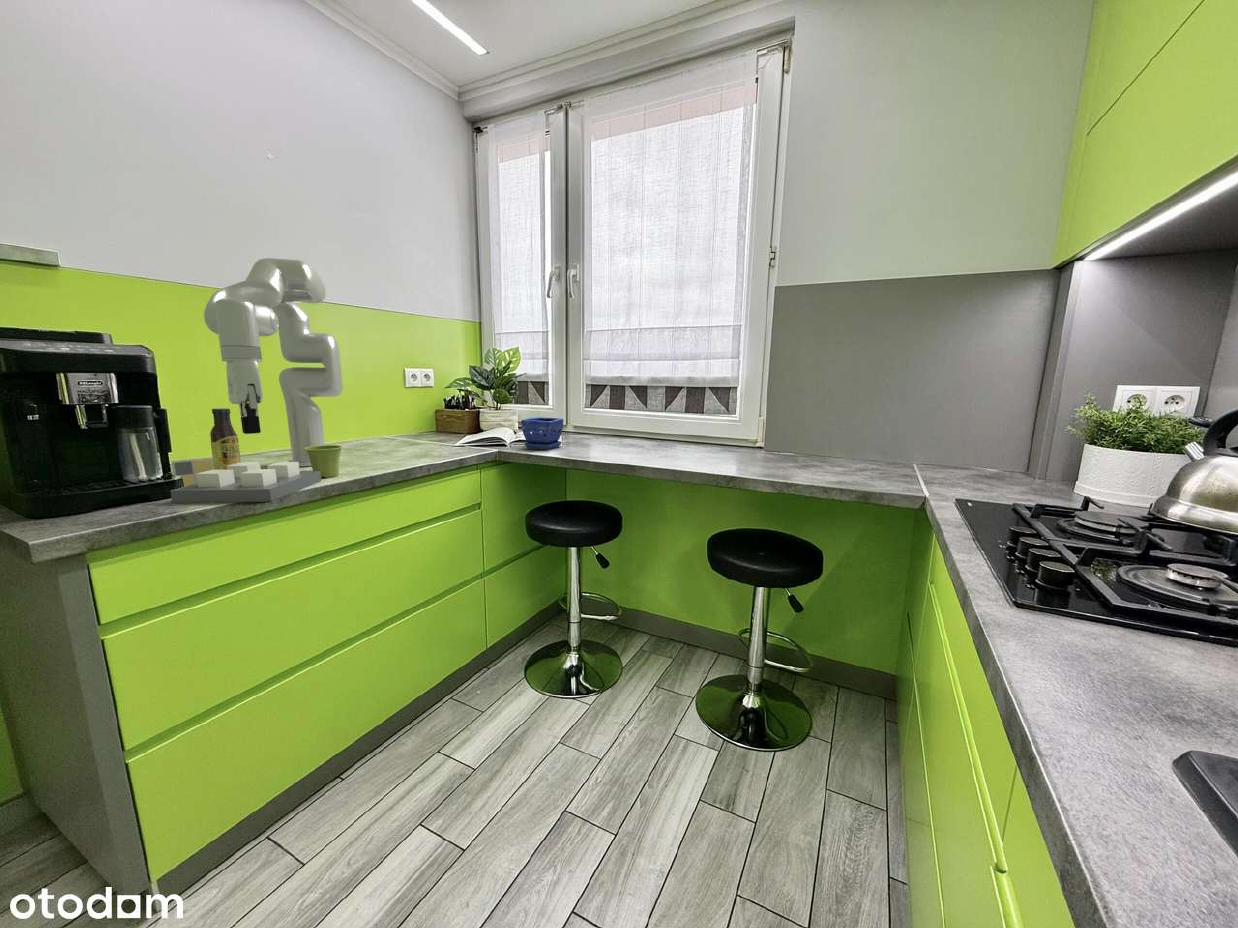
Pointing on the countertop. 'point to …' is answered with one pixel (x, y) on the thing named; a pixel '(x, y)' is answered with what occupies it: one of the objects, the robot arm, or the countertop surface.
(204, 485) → the button
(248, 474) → the button
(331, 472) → the plant pot
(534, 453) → the countertop surface
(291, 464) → the button
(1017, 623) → the countertop surface
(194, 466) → the card
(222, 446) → the sauce bottle
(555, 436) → the flower pot
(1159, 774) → the countertop surface
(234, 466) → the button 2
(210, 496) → the button board
